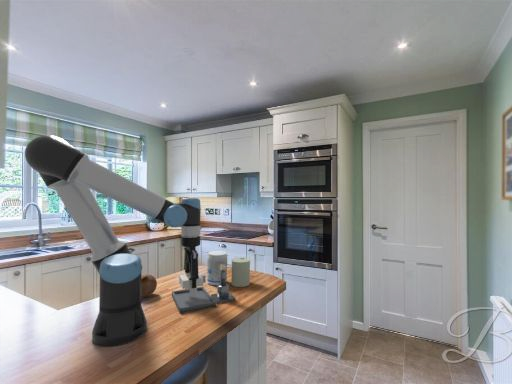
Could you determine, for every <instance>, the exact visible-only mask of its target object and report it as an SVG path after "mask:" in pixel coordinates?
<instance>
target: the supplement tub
mask: <svg viewBox="0 0 512 384" xmlns="http://www.w3.org/2000/svg"><path fill="white" fill-rule="evenodd" d="M220 264H224V265H225V266H227V267H228V252H227V251H224V250H213V251H208V253H207V269H206V270H207V274H206V276H207V277H206V282H207V284H209V285H211V286H217V285H218V284H220V270H221V268H220ZM227 276H228V269H227V270H226V282H227V281H228V277H227Z"/></svg>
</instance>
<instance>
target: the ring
mask: <svg viewBox="0 0 512 384" xmlns="http://www.w3.org/2000/svg"><path fill="white" fill-rule="evenodd" d="M198 275H199V279H197V288H198V287H204V284H206V282H207V277H206V276H207V274H205V273H203V274H200V273H199V272H198ZM189 278H190V274H185V273H184V274H179V275H178V283H179V285H180V286H181V288H182V290H184V289H185V288H190V280H189Z"/></svg>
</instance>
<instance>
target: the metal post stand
mask: <svg viewBox="0 0 512 384" xmlns="http://www.w3.org/2000/svg"><path fill="white" fill-rule="evenodd" d="M220 268H221V270H220V284H218V285H216V286H217V292H216V293H211V294H210V296H211V297H212V298H213V299H214V300H215V302H216V305H218V304H223V303H229V302H235V301H236V297H235V295H233V294H232V293H231V292H230V285H229V283H227V281H226V270H227V271H228V265H227V266H225V265H224V264H220Z"/></svg>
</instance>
